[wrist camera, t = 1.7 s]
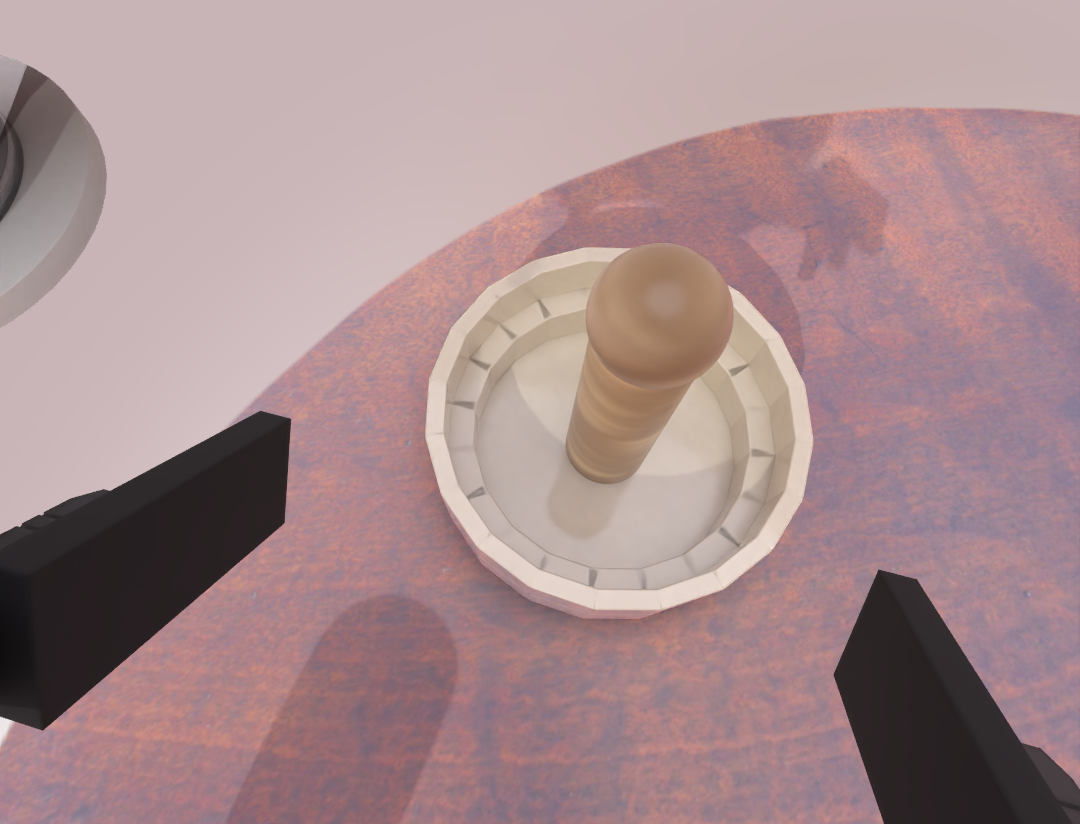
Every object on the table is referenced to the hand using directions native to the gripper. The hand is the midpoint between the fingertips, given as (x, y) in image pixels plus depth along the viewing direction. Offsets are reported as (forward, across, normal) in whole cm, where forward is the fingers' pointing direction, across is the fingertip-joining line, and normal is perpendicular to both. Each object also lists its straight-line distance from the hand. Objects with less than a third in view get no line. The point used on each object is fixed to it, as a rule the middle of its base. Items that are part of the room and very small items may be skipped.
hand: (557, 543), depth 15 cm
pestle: (+18, 0, -5) cm, 19 cm away
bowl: (+19, 0, -5) cm, 19 cm away
